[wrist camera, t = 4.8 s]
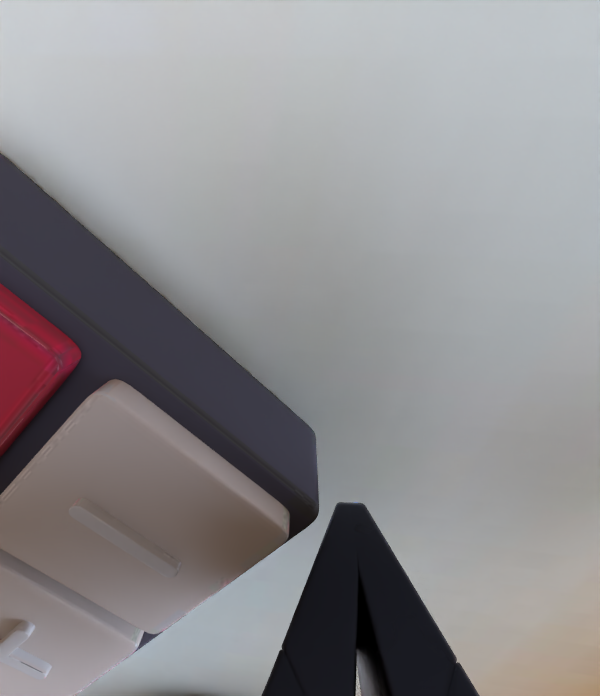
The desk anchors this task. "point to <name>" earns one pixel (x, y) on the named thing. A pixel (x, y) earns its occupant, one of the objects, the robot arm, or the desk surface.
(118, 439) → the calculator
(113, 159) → the desk surface
